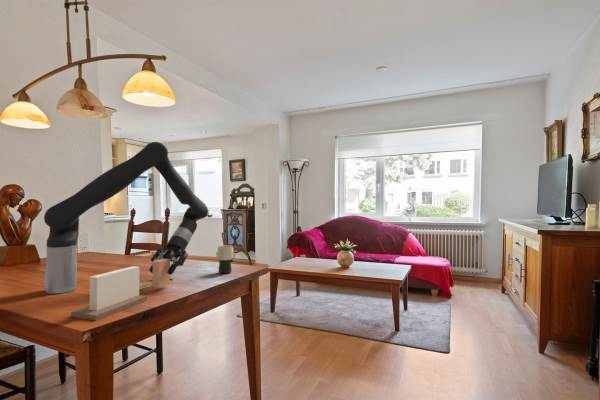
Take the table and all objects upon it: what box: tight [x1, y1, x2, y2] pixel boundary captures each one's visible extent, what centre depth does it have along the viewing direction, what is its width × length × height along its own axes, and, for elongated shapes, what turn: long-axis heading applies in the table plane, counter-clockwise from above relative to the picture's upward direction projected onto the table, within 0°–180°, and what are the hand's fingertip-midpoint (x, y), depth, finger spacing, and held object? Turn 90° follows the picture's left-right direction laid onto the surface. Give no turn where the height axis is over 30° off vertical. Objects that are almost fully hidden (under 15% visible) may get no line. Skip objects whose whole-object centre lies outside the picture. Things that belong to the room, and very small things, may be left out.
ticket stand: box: [70, 265, 148, 322], centre depth 98 cm, size 10×19×12 cm, turn 163°
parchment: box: [139, 278, 174, 290], centre depth 125 cm, size 25×10×1 cm, turn 150°
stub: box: [151, 258, 171, 289], centre depth 119 cm, size 3×6×10 cm, turn 163°
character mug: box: [215, 244, 235, 274], centre depth 148 cm, size 11×7×13 cm, turn 147°
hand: (160, 272), depth 118 cm, fingers open, 8 cm apart
